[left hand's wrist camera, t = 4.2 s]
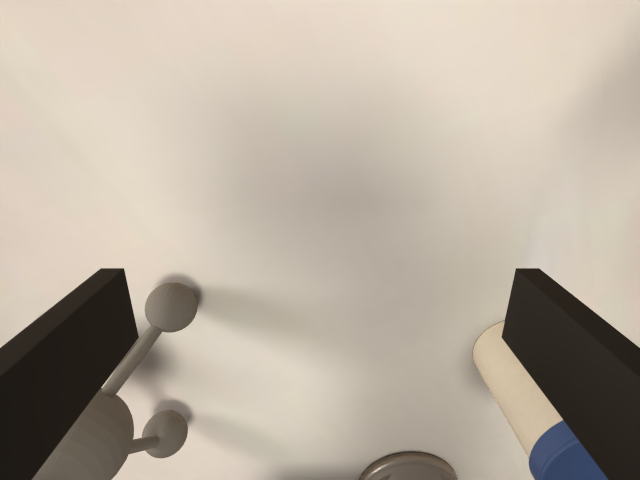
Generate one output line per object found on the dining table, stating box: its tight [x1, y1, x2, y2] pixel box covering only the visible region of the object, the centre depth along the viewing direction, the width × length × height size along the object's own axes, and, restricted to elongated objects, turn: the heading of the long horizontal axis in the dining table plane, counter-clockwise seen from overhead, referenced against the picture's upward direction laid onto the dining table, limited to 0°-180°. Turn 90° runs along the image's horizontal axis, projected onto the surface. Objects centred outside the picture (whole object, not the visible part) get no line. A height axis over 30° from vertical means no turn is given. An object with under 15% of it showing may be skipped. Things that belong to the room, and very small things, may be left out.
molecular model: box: [32, 283, 197, 480], centre depth 33 cm, size 24×22×30 cm
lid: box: [529, 420, 608, 480], centre depth 33 cm, size 10×10×2 cm
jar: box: [473, 321, 563, 458], centre depth 40 cm, size 9×9×16 cm
